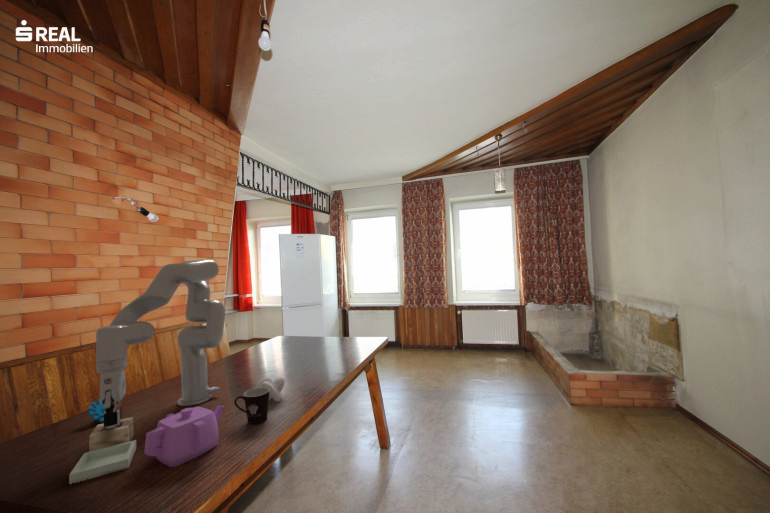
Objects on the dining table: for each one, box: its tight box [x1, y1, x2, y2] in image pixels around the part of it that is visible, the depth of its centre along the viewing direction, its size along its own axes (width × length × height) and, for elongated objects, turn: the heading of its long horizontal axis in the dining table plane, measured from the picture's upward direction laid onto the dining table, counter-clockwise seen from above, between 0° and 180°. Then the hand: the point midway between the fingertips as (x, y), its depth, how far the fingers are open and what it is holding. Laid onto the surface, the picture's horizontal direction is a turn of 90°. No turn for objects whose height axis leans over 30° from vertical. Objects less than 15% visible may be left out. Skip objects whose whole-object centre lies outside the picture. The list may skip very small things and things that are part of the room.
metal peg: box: [105, 401, 121, 430], centre depth 100 cm, size 4×4×13 cm
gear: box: [87, 398, 122, 423], centre depth 120 cm, size 11×6×10 cm
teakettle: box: [143, 405, 225, 468], centre depth 95 cm, size 17×17×12 cm
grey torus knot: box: [255, 376, 286, 403], centre depth 130 cm, size 11×12×9 cm
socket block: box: [88, 416, 134, 452], centre depth 100 cm, size 9×9×6 cm
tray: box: [68, 439, 137, 485], centre depth 89 cm, size 12×12×2 cm
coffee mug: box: [234, 387, 270, 426], centre depth 113 cm, size 12×9×10 cm
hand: (112, 422), depth 100 cm, fingers closed on metal peg, 3 cm apart
